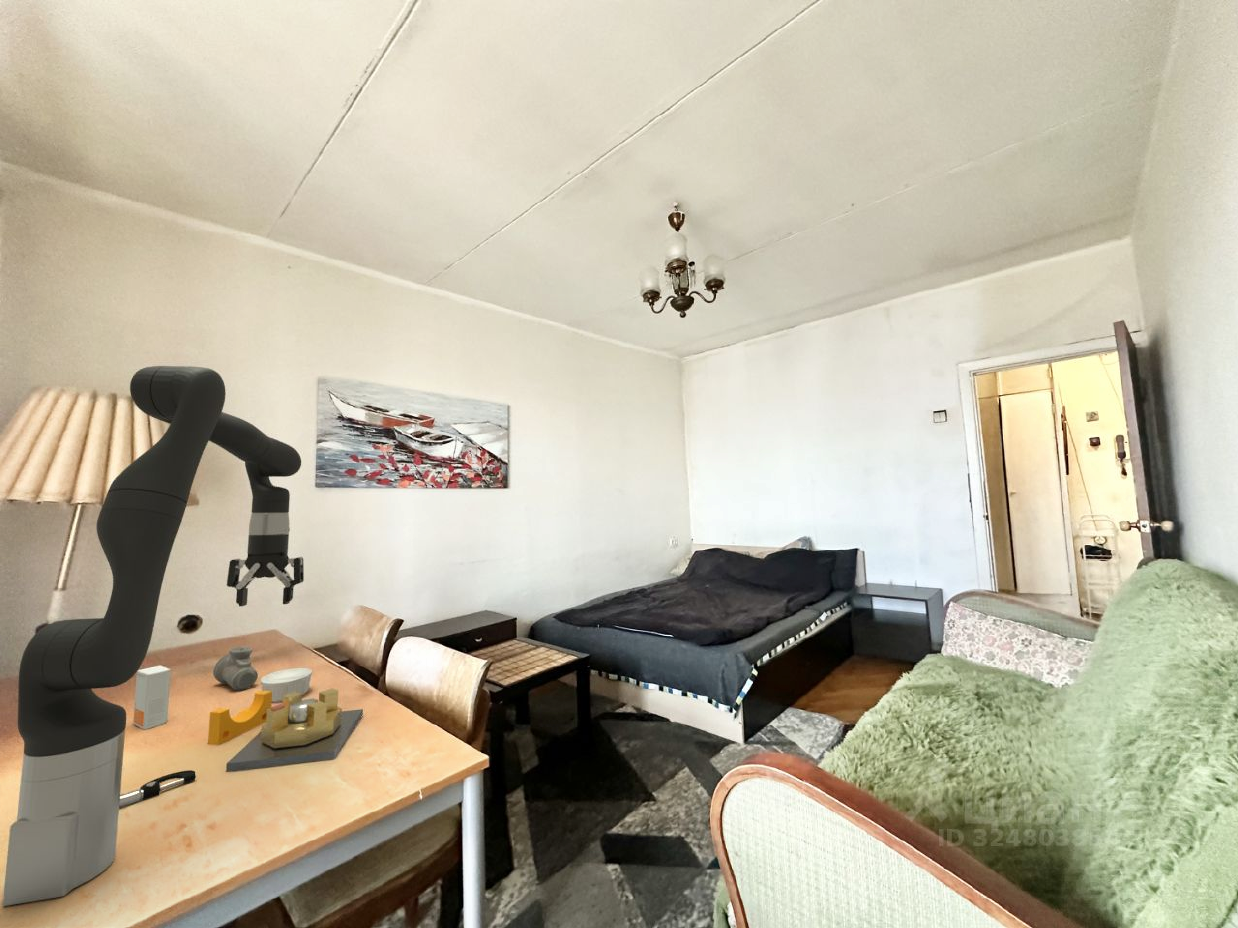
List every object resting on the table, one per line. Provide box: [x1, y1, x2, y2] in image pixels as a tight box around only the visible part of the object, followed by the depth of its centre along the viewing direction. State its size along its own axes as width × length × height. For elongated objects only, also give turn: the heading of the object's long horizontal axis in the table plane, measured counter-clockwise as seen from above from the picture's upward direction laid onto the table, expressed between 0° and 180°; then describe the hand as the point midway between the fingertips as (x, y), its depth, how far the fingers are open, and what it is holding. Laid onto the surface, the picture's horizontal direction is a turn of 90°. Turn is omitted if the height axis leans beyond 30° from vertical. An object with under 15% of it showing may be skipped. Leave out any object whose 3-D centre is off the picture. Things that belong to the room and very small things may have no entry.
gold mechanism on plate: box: [225, 698, 364, 773], centre depth 101 cm, size 20×18×8 cm
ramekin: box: [260, 667, 313, 703], centre depth 125 cm, size 11×11×5 cm
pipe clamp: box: [207, 690, 272, 746], centre depth 106 cm, size 12×4×6 cm, turn 169°
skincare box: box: [132, 665, 172, 730], centre depth 110 cm, size 6×4×12 cm
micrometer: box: [119, 769, 197, 810], centre depth 82 cm, size 15×7×2 cm, turn 142°
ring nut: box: [261, 688, 343, 748], centre depth 101 cm, size 13×13×7 cm
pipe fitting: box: [212, 645, 259, 691], centre depth 132 cm, size 12×8×10 cm
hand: (264, 604), depth 109 cm, fingers open, 8 cm apart
